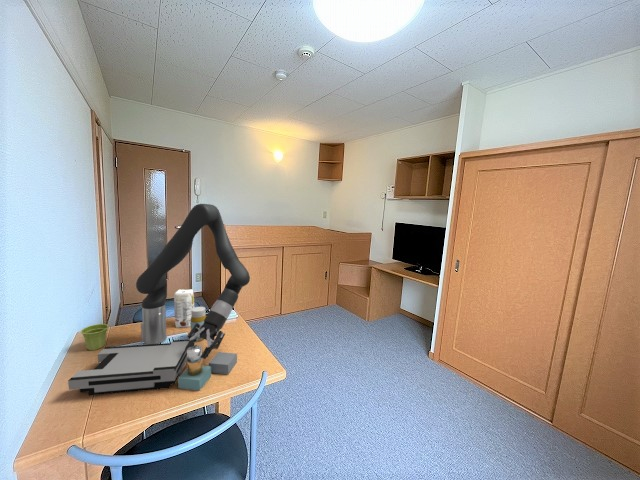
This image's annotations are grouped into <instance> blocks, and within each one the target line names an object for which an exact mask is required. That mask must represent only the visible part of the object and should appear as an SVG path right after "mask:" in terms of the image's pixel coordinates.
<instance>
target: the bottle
mask: <svg viewBox="0 0 640 480" xmlns="http://www.w3.org/2000/svg"><path fill="white" fill-rule="evenodd" d="M191 314H192V317H191V326H190V331H191V330H192V329H193V327H194V326H195V324H196V323H198V324H200V325H201V326H202V325H203V324H204V319H205V318H206V316H207V314H206V307H204V306H194V308H193V309H192V310H191ZM199 331H200V330H199ZM193 334H194V333H193ZM193 334H192V335H193ZM202 341H205V339H201V340H198V341H197V342H202Z"/></svg>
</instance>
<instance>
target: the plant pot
mask: <svg viewBox="0 0 640 480" xmlns="http://www.w3.org/2000/svg"><path fill="white" fill-rule="evenodd" d="M108 329H109V325H108V324H105V323H96V324H92V325H89V326H85V327H84V328H82V329H81V330H80V333H81V334H82V336H83V338H84V339H83V340H84V342H85V346H86V349H87V350H89V351H94V350H99V349H101V348H103V347H105V345H106V340H107V339H106V338H107V337H106V336H107V331H108Z"/></svg>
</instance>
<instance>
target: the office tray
mask: <svg viewBox="0 0 640 480" xmlns="http://www.w3.org/2000/svg"><path fill="white" fill-rule="evenodd" d="M189 341H190V339H189V338H187V339H173V340H172V342H168V343H167V342H166V343H165V342H164V343H158V344H148V345H147V344H135V345H133V344H132V345H120V346H119V345H118V346H104V348H103V349H102V350H100V352H98V353H97V363H98V364H97V365H96V366H95V367H94V368H93V369H86V370H78V371H77V372H76V373H75V374H74V375H72V376H71V378H69V379H68V380H67V383H68V390H69V391H72V390H79V393H88V396H91V397H92V396H99V395H101V396H102V395H112V394H122V393H124V394H125V393H132V392H144V391H146V392H147V391H153V390H154V391H155V390H165V389H167V390H168V389H170V387H171V385H175V384H176V382H177V381H178V377H179V376H180V375H181V374H182V373H183V370H184V368H185V367H186V364H187V352H186V351H185V348H186V346H187V344H188V343H189Z"/></svg>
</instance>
